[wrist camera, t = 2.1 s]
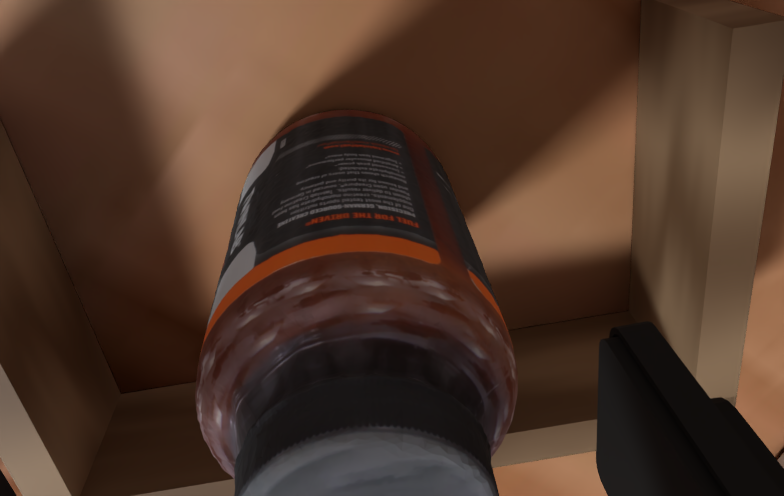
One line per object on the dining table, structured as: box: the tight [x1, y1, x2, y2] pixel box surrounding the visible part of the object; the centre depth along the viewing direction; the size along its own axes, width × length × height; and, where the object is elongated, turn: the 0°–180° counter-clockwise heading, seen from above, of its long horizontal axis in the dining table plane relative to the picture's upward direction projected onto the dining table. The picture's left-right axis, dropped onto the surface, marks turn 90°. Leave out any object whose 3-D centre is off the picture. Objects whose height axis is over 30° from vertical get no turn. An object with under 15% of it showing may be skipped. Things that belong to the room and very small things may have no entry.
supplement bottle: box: [195, 110, 518, 496], centre depth 15 cm, size 6×6×11 cm
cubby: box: [0, 0, 784, 496], centre depth 18 cm, size 11×19×4 cm, turn 98°
